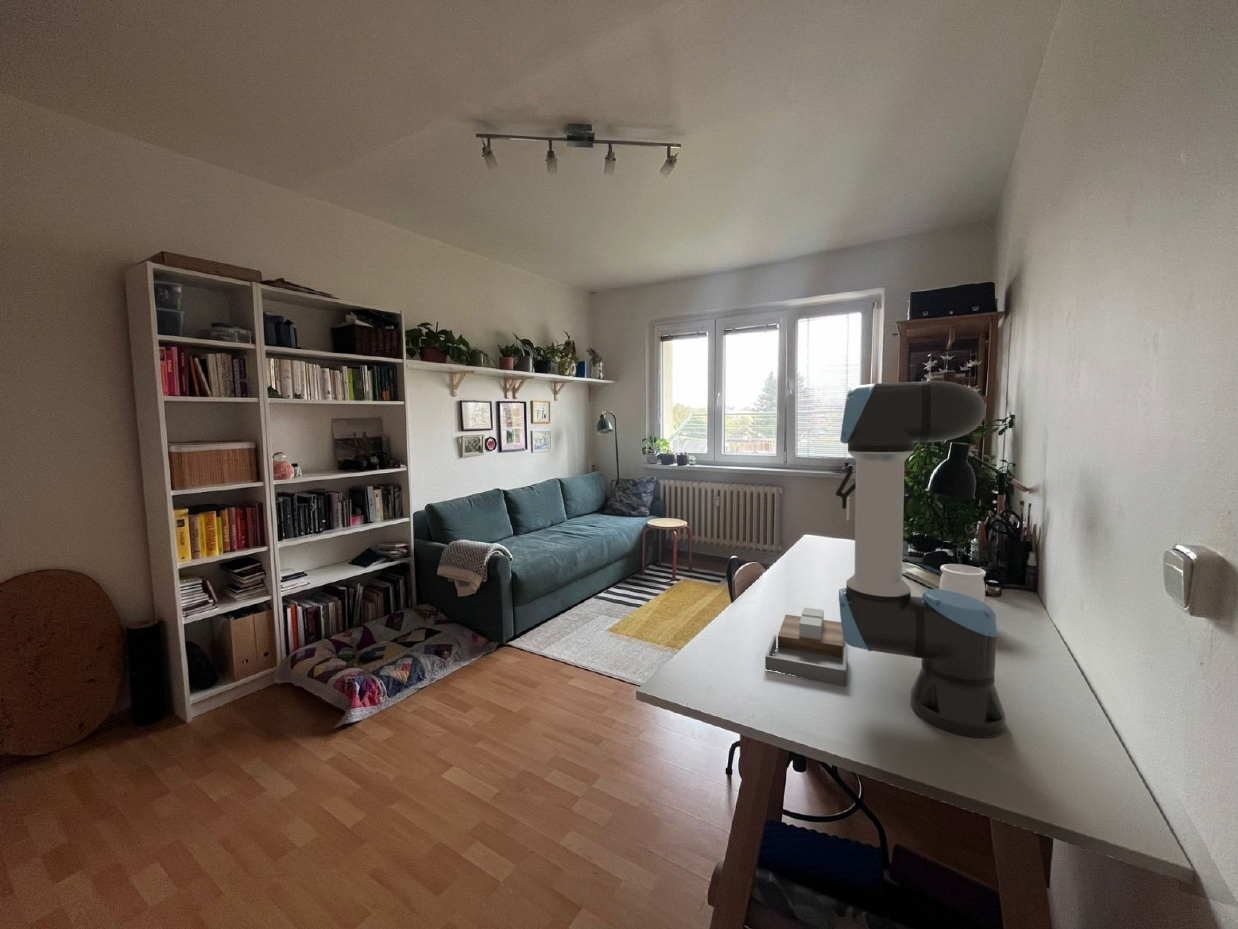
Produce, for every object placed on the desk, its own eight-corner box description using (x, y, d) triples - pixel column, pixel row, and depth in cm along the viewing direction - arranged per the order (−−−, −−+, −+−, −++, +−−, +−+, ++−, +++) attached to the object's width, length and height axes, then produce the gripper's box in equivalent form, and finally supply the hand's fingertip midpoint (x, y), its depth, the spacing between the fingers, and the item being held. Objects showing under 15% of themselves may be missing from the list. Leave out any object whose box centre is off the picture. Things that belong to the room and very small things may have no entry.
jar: (992, 624, 136) (994, 571, 135) (968, 630, 132) (969, 576, 131) (954, 610, 146) (955, 561, 144) (930, 616, 142) (931, 566, 141)
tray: (845, 686, 106) (845, 670, 106) (765, 670, 114) (765, 656, 113) (847, 660, 117) (847, 646, 117) (773, 648, 125) (773, 635, 125)
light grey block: (820, 640, 121) (820, 626, 121) (799, 636, 123) (799, 623, 123) (822, 632, 125) (822, 618, 125) (801, 629, 128) (801, 616, 127)
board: (842, 660, 118) (842, 646, 117) (777, 649, 124) (777, 635, 124) (844, 635, 131) (844, 622, 131) (785, 626, 138) (785, 614, 137)
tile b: (822, 629, 127) (822, 616, 127) (801, 626, 129) (802, 614, 129) (823, 622, 131) (823, 610, 131) (803, 619, 133) (803, 607, 133)
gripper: (923, 447, 139) (922, 521, 141) (828, 448, 150) (828, 516, 152) (926, 449, 132) (924, 526, 134) (826, 449, 143) (826, 520, 145)
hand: (873, 521), depth 143 cm, fingers open, 13 cm apart
